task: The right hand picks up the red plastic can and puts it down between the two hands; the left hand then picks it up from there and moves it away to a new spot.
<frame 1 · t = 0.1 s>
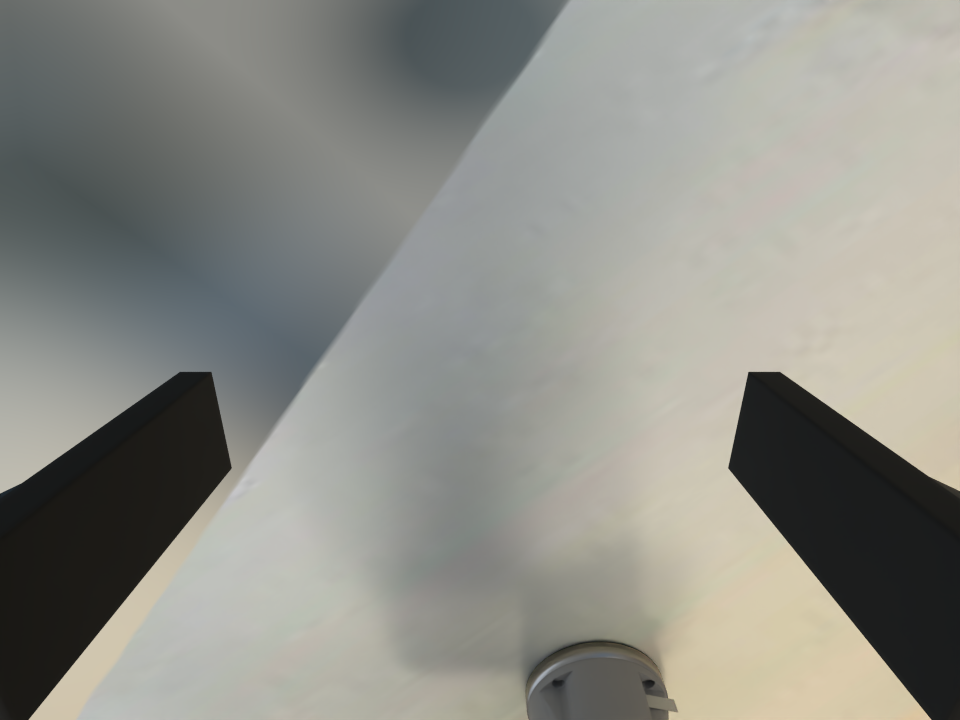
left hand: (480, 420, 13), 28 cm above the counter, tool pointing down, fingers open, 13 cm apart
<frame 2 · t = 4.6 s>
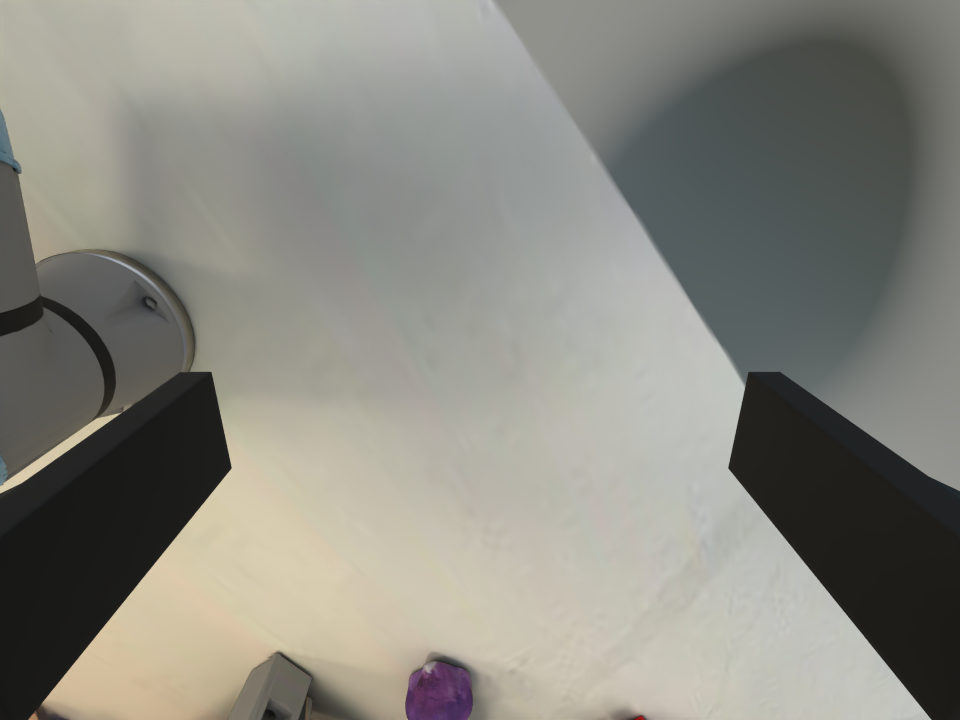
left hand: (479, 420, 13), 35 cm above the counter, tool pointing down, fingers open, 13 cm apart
figurine: (446, 683, 66), on the counter
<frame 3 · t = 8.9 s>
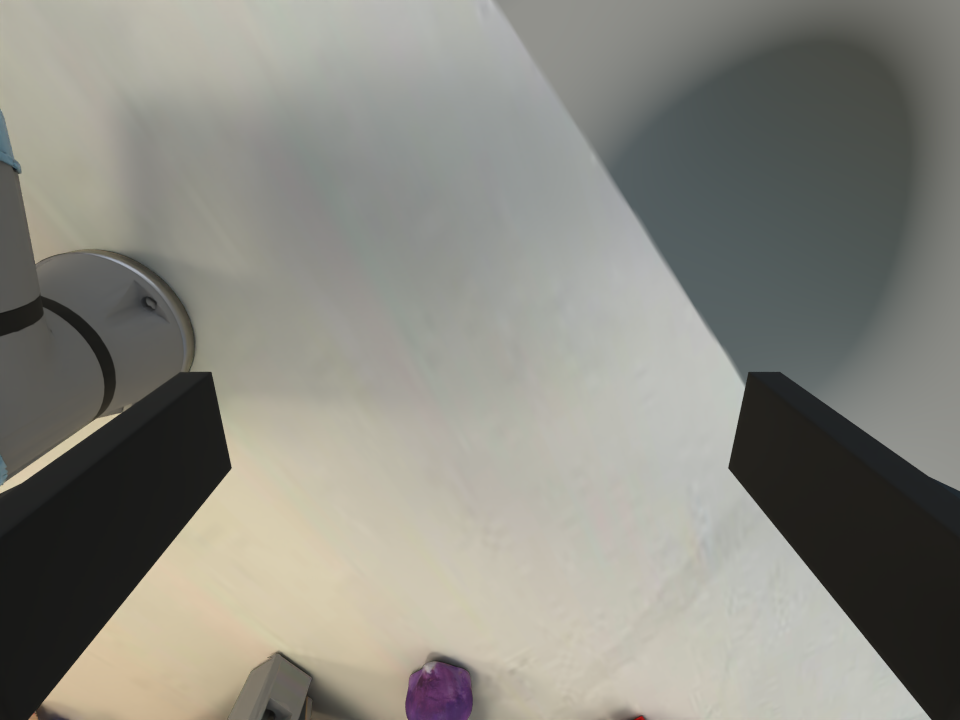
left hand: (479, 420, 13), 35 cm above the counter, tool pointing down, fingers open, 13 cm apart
figurine: (446, 683, 66), on the counter
when the right hand's fingers open (6 cm above the counter, at t = 13.3 s): can drops 1 cm, on the counter.
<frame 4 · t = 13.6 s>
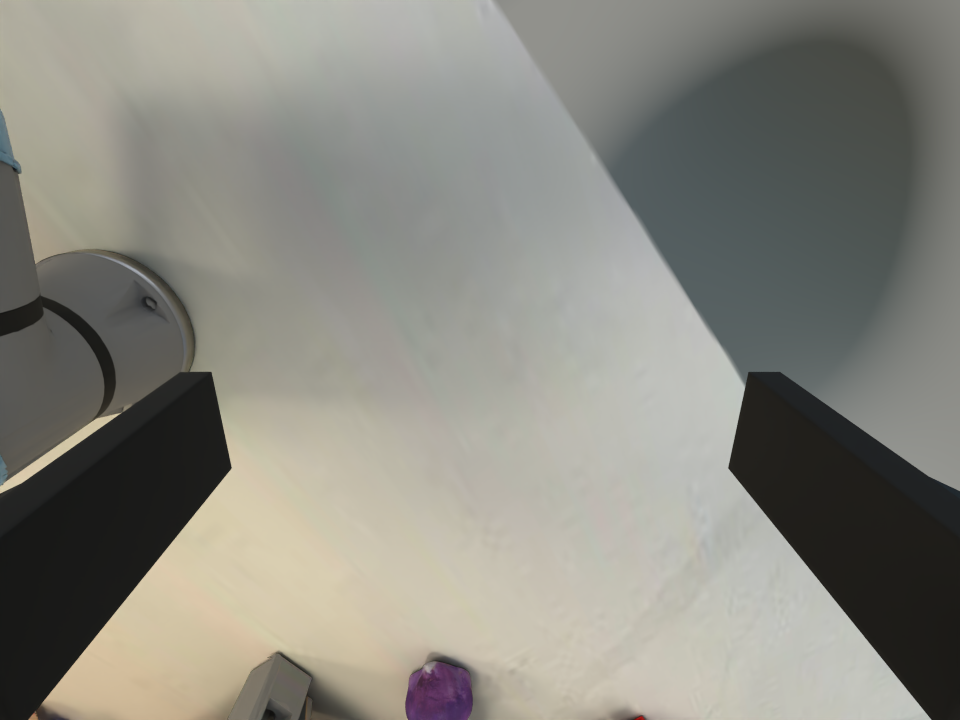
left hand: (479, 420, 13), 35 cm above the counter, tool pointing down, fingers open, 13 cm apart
figurine: (446, 683, 66), on the counter
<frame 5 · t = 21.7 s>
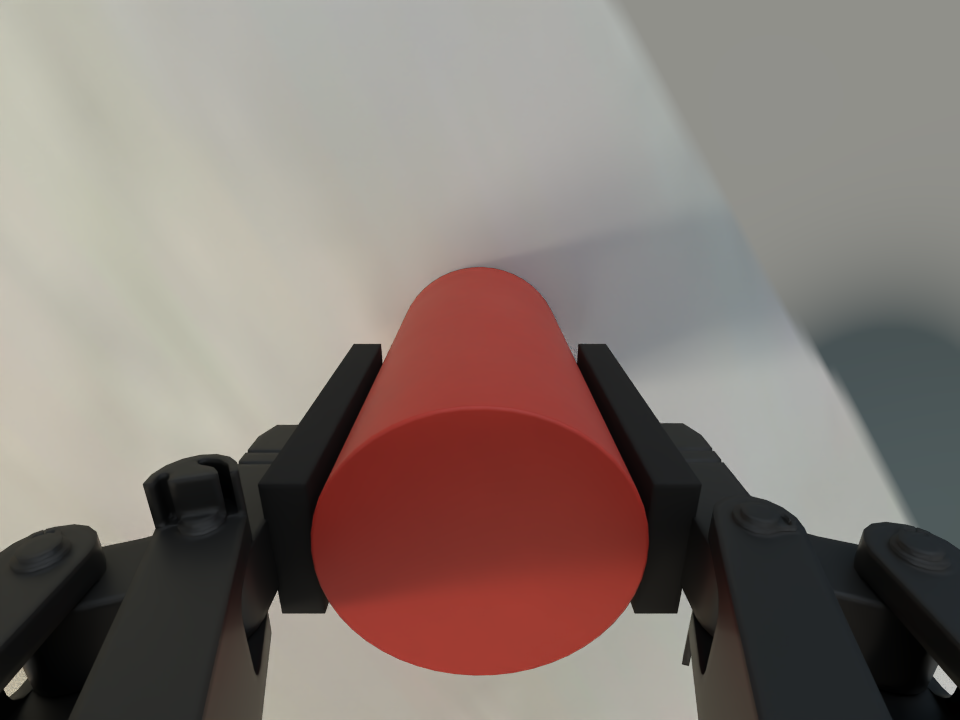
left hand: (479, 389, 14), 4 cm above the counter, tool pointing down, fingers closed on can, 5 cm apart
can: (479, 344, 18), on the counter, touching left hand
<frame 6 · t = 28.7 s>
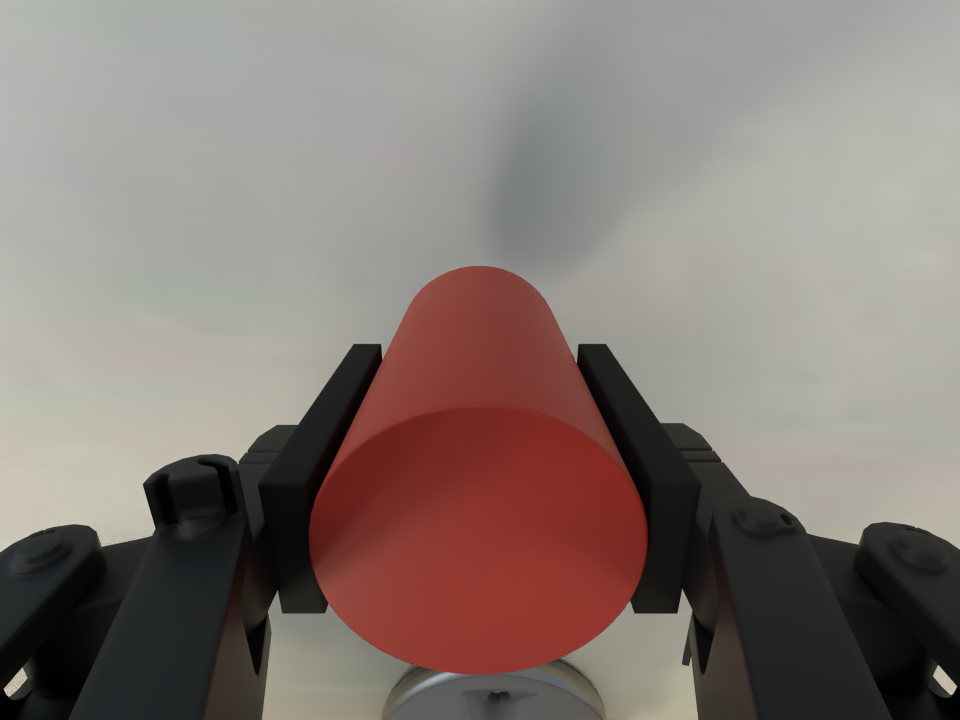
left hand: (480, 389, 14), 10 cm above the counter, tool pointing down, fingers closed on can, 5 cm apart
can: (478, 343, 18), point 7 cm above the counter, touching left hand
when the left hand's fingers open (5 cm above the counter, at t = 35.8 s): can drops 1 cm, on the counter.
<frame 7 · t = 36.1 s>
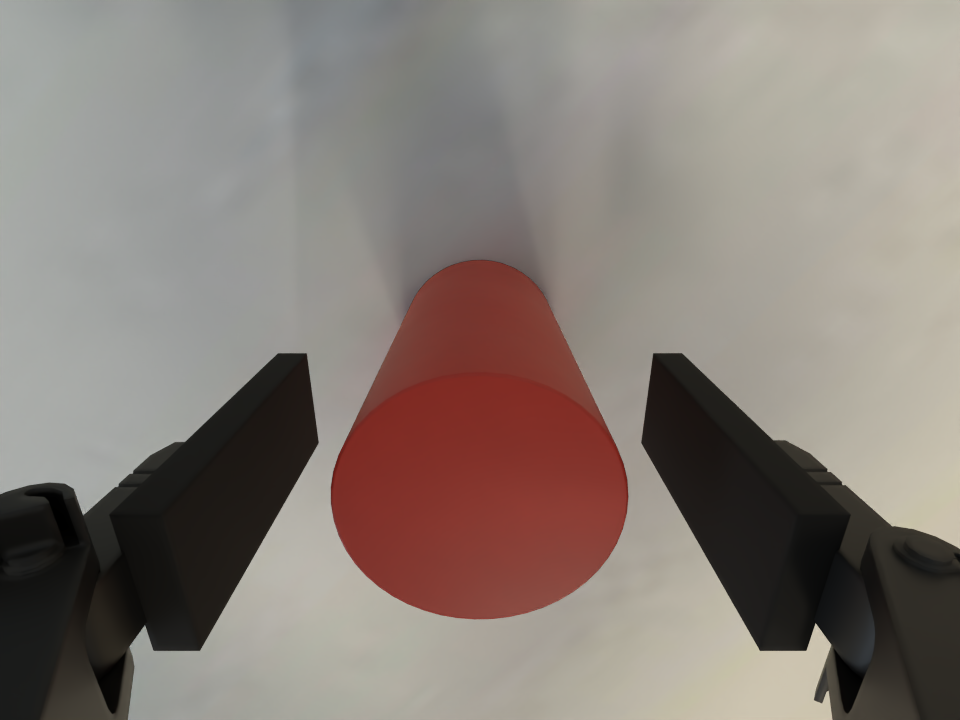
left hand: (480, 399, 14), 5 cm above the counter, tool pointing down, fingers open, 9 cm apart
can: (479, 333, 19), on the counter
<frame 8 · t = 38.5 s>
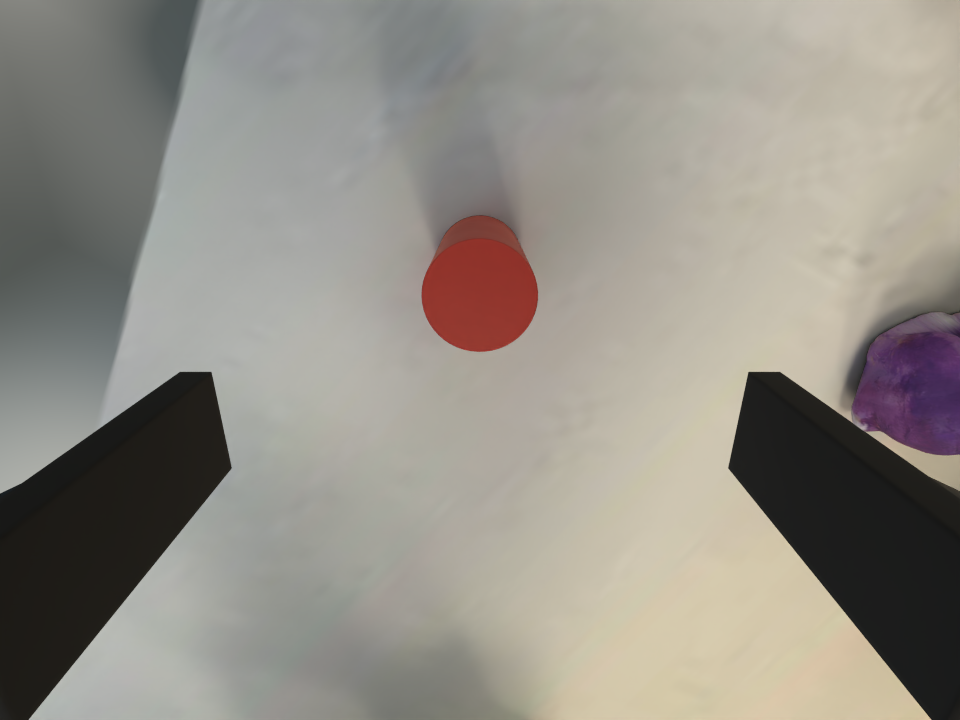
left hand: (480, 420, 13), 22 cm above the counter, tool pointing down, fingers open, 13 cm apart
can: (479, 258, 33), on the counter
figurine: (916, 357, 36), on the counter
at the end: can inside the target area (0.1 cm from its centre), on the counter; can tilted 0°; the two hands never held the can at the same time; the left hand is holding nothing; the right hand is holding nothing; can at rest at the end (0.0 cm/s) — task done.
